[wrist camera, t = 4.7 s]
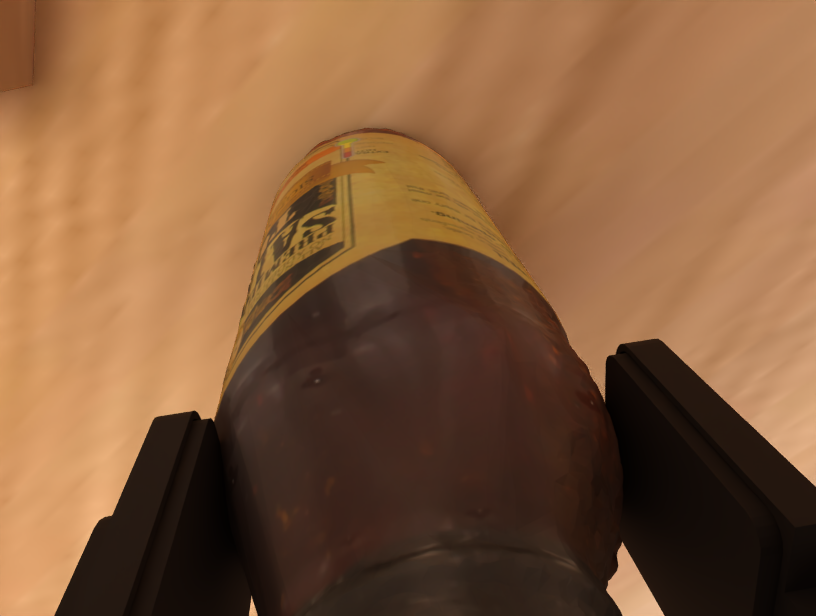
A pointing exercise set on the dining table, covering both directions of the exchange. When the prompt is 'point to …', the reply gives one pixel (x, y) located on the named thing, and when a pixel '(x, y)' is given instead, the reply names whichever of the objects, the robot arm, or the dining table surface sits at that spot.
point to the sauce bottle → (410, 407)
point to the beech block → (16, 43)
